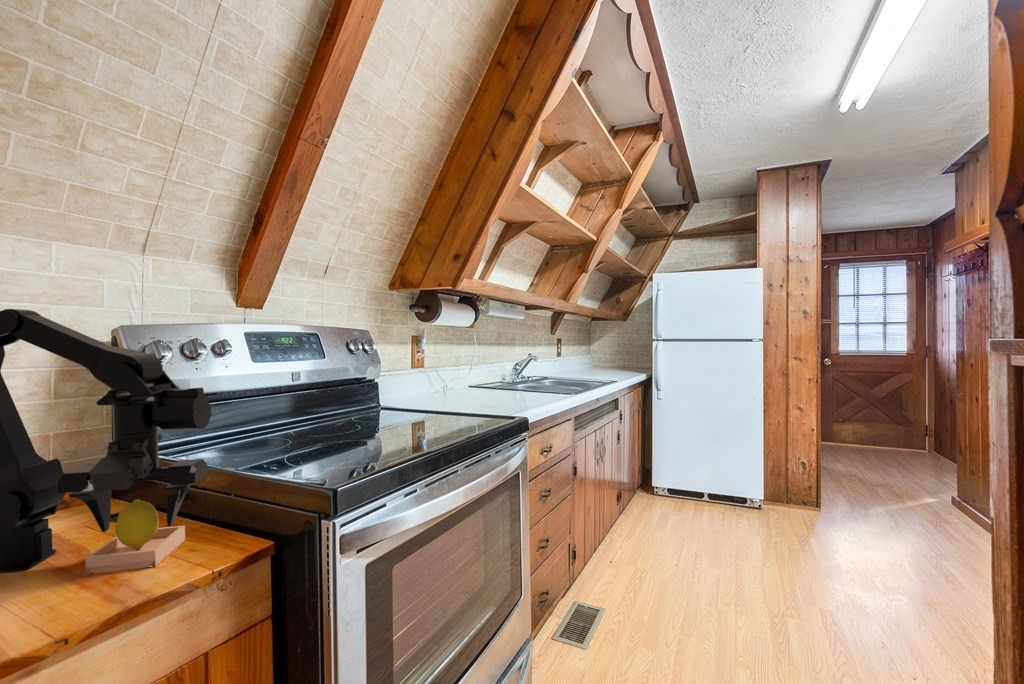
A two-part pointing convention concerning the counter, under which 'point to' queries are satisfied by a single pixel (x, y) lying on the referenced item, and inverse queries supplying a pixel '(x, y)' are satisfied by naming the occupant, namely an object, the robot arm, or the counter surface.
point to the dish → (135, 552)
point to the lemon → (137, 524)
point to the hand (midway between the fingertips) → (138, 528)
